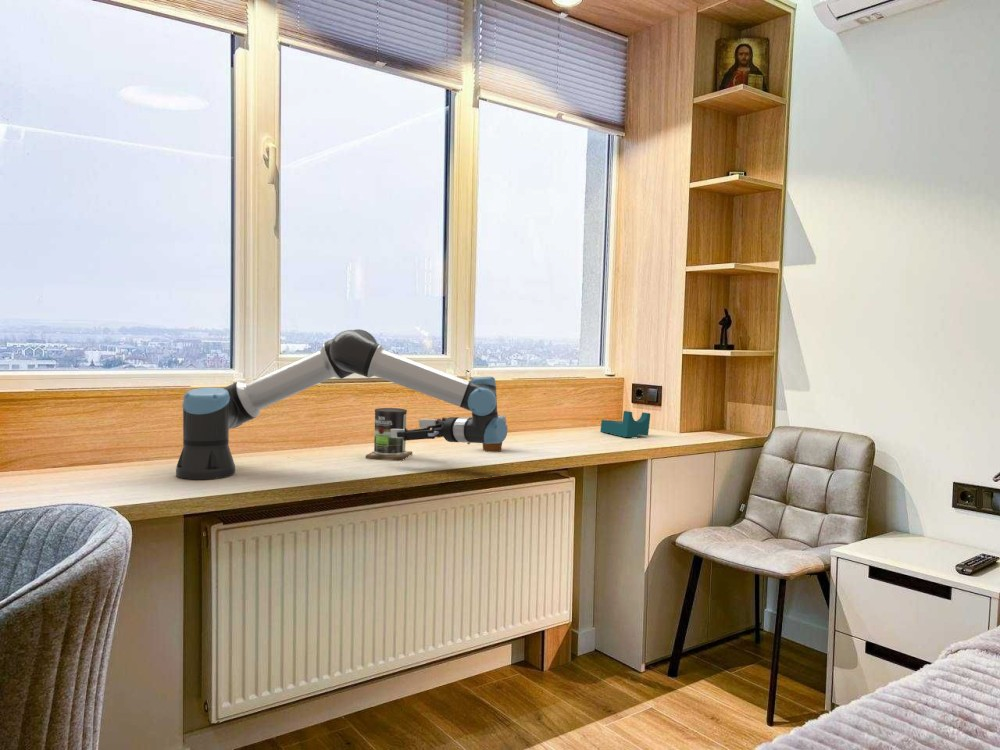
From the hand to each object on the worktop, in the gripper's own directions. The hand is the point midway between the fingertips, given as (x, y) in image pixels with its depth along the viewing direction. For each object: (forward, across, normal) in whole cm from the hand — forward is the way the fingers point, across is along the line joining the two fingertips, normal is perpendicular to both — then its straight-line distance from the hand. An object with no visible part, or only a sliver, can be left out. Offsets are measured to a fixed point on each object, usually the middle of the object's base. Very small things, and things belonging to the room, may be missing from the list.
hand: (406, 428), depth 235 cm
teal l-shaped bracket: (-24, +104, -27) cm, 110 cm away
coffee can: (+9, 0, -9) cm, 12 cm away
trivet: (+9, 0, -10) cm, 13 cm away
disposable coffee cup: (-8, +33, -16) cm, 38 cm away
